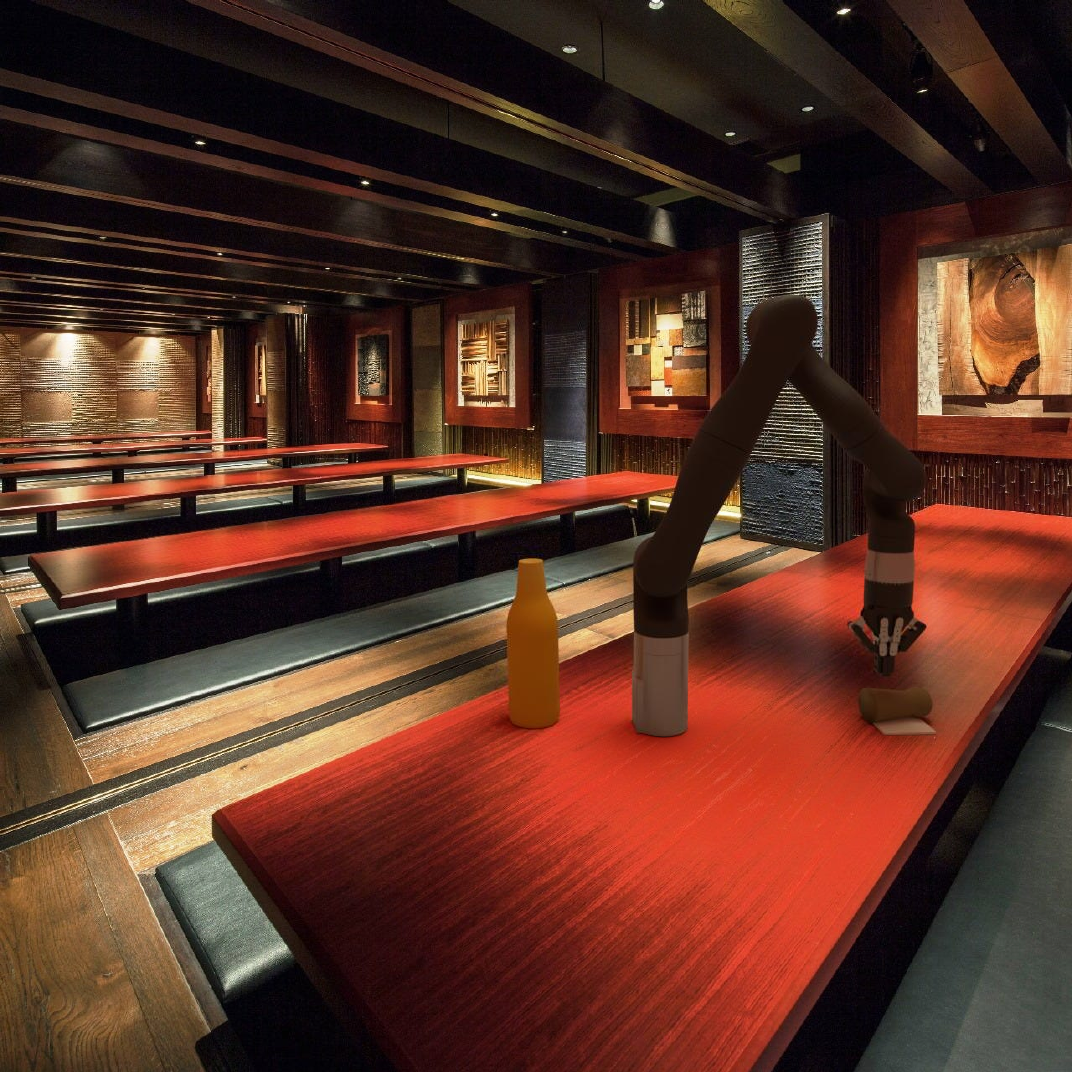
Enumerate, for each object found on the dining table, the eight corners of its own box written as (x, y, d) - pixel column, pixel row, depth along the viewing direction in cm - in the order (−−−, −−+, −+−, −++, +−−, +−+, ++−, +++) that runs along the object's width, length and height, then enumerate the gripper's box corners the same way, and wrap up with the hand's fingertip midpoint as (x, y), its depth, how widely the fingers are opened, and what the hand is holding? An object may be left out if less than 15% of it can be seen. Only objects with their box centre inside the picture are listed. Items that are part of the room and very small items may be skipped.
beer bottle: (504, 728, 131) (499, 565, 126) (514, 707, 140) (509, 555, 135) (556, 730, 129) (553, 566, 124) (563, 709, 138) (560, 555, 133)
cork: (854, 696, 134) (912, 692, 135) (866, 728, 130) (925, 724, 131) (869, 681, 129) (928, 678, 130) (881, 715, 125) (942, 711, 126)
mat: (884, 734, 125) (884, 732, 125) (859, 711, 134) (859, 708, 134) (935, 734, 124) (936, 731, 124) (907, 710, 134) (907, 708, 134)
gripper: (858, 582, 122) (853, 683, 124) (940, 580, 121) (933, 682, 124) (840, 572, 129) (836, 668, 132) (917, 570, 129) (912, 666, 132)
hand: (883, 674), depth 128 cm, fingers closed
